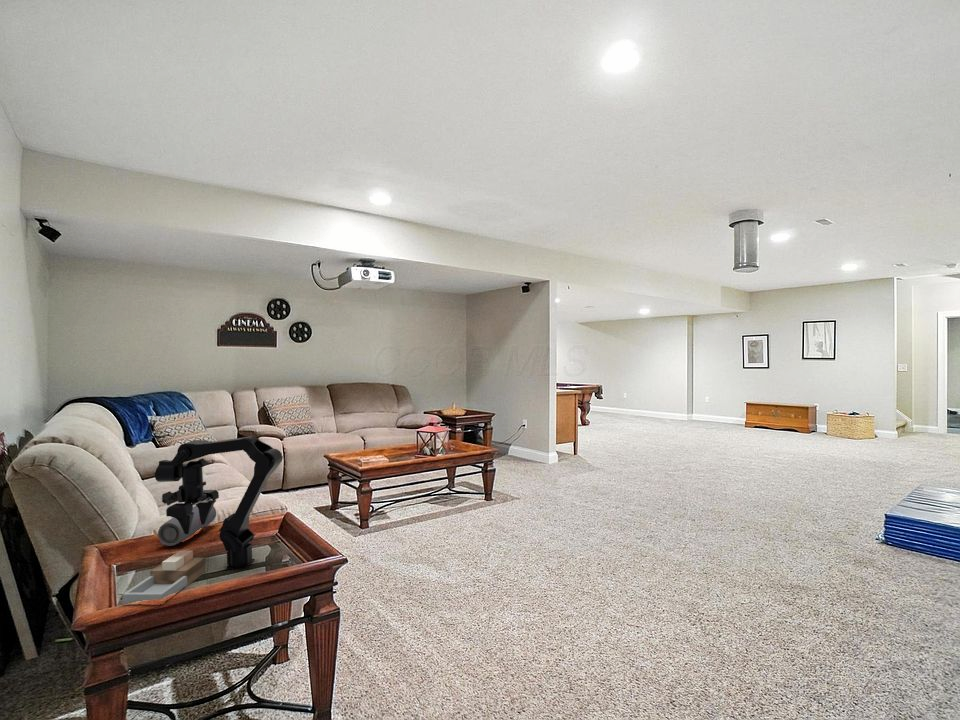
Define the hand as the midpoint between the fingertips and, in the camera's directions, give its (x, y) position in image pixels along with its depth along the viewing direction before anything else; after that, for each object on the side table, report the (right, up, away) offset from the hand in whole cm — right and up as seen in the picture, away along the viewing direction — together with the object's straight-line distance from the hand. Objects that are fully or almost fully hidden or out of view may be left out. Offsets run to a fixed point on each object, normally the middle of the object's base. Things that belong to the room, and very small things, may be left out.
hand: (195, 529), depth 160 cm
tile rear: (0, -8, -7) cm, 10 cm away
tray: (0, -12, -19) cm, 22 cm away
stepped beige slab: (0, -12, -9) cm, 15 cm away
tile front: (0, -8, -11) cm, 14 cm away
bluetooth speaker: (-17, -12, +25) cm, 33 cm away
